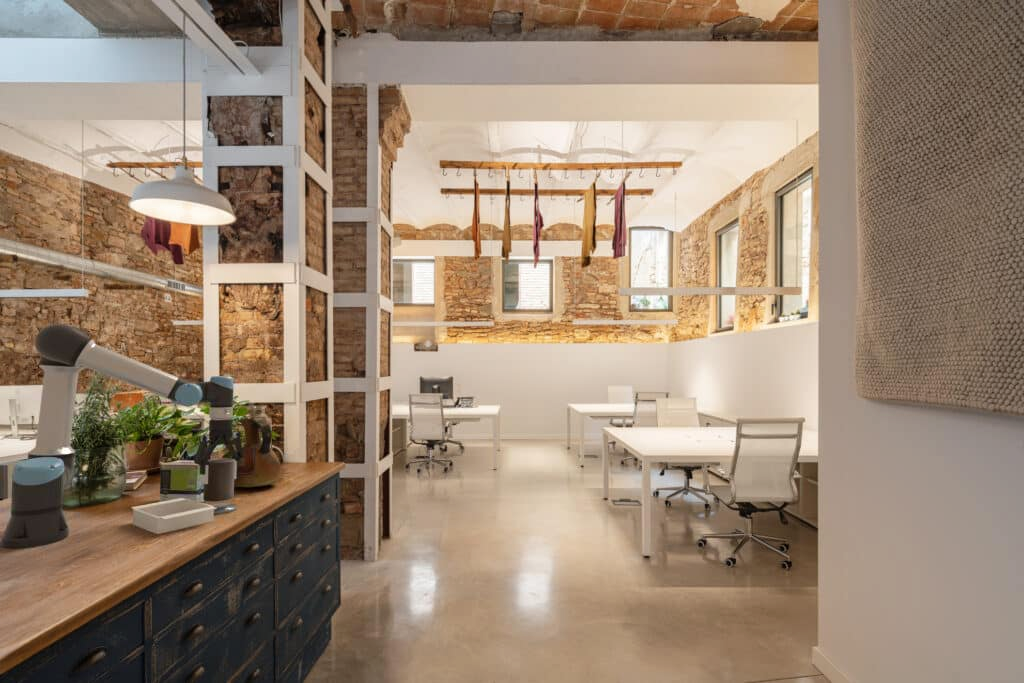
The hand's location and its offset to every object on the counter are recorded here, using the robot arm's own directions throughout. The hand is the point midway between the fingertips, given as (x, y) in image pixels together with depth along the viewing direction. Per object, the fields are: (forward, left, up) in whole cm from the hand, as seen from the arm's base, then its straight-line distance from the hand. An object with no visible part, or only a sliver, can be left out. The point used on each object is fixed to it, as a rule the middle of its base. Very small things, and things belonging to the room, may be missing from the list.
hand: (219, 481), depth 200 cm
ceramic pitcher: (+29, +24, -11) cm, 39 cm away
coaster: (0, 0, -10) cm, 10 cm away
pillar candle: (0, 0, -6) cm, 6 cm away
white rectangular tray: (-17, -4, -10) cm, 20 cm away
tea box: (0, +23, -11) cm, 25 cm away
